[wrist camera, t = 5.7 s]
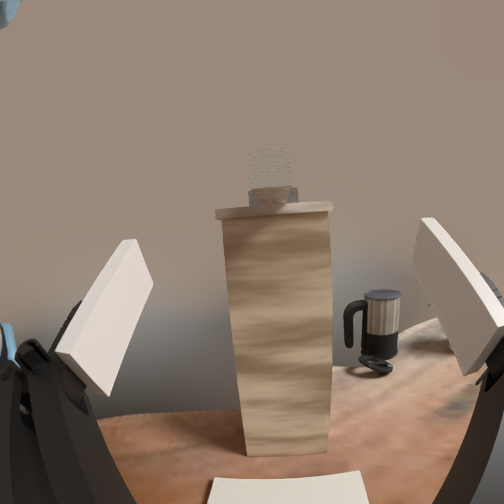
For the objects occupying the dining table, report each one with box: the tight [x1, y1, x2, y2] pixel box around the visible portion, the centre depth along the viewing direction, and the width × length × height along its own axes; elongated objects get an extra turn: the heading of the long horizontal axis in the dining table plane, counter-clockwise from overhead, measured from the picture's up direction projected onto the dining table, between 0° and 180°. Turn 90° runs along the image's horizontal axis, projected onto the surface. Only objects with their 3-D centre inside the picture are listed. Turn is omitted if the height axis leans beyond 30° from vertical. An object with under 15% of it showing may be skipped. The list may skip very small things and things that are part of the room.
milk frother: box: [343, 289, 402, 374], centre depth 56 cm, size 14×16×15 cm
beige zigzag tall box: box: [215, 201, 333, 456], centre depth 35 cm, size 12×12×33 cm
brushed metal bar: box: [248, 147, 299, 206], centre depth 28 cm, size 24×6×4 cm, turn 175°
